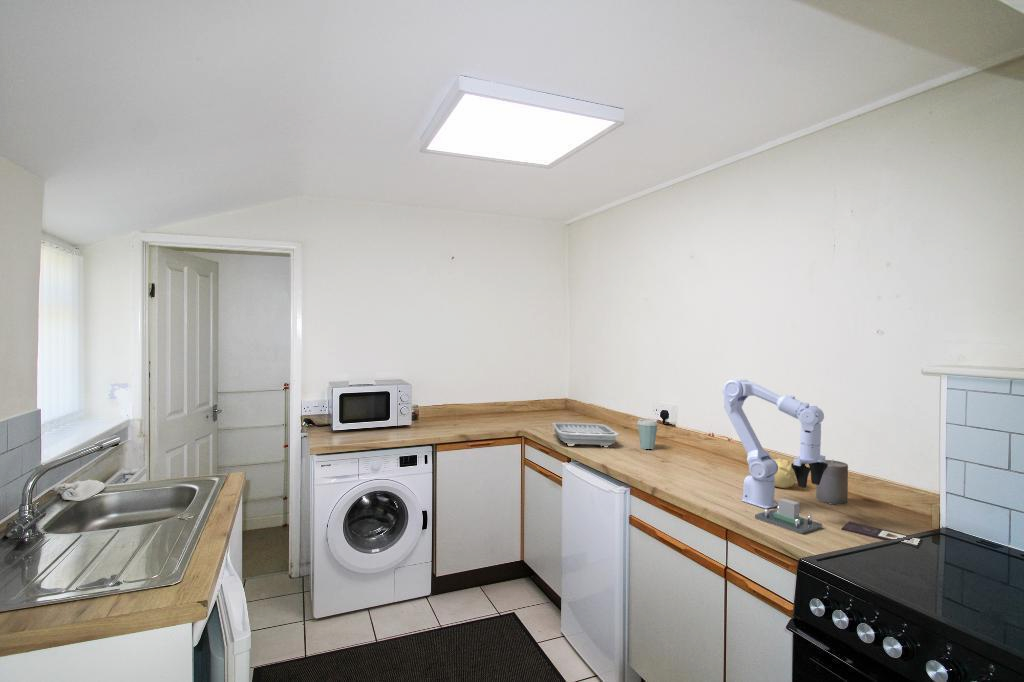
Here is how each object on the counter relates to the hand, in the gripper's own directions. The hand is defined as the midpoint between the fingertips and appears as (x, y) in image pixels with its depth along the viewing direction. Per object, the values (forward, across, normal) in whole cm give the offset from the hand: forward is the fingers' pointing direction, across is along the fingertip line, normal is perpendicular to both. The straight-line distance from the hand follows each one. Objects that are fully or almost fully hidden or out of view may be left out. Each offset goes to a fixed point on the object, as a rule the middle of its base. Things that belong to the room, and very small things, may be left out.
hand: (808, 485), depth 170 cm
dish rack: (+10, +5, +124) cm, 125 cm away
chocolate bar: (+11, +4, -20) cm, 23 cm away
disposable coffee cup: (+10, +24, +97) cm, 100 cm away
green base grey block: (+9, -12, -1) cm, 15 cm away
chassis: (+10, -12, -1) cm, 16 cm away
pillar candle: (+10, +24, +6) cm, 27 cm away
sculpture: (+10, +25, +26) cm, 37 cm away
